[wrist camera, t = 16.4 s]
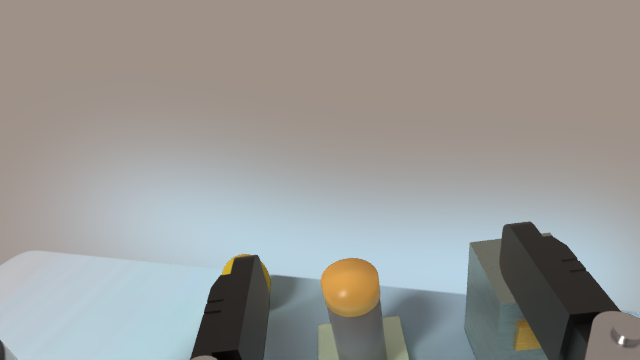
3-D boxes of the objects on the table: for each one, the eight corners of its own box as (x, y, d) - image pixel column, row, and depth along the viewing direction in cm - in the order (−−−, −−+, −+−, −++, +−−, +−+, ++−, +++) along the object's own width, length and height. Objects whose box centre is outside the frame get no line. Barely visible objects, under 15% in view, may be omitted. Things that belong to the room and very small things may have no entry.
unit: (491, 397, 36) (503, 301, 29) (463, 326, 42) (469, 235, 36) (571, 389, 35) (601, 290, 29) (531, 319, 42) (549, 225, 35)
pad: (320, 410, 37) (319, 406, 37) (319, 329, 45) (318, 324, 44) (417, 401, 37) (417, 396, 36) (399, 320, 44) (399, 315, 44)
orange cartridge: (338, 383, 38) (320, 303, 33) (337, 338, 43) (321, 261, 37) (391, 378, 38) (381, 297, 32) (384, 334, 42) (374, 255, 37)
